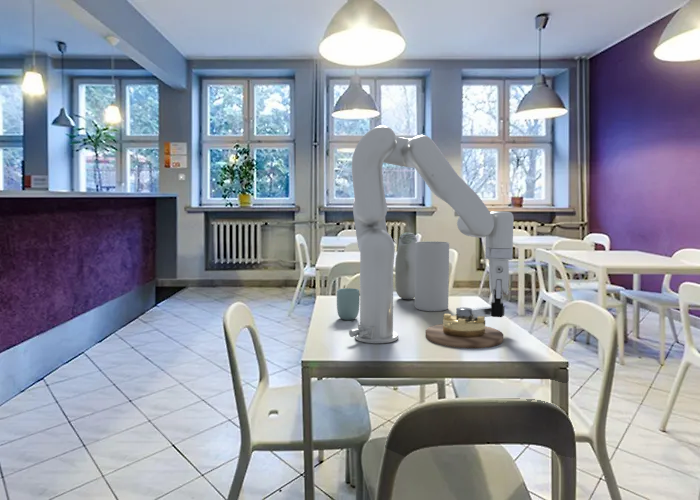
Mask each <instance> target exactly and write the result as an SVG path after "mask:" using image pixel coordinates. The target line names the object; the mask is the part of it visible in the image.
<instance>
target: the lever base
mask: <svg viewBox="0 0 700 500" xmlns="http://www.w3.org/2000/svg"><path fill="white" fill-rule="evenodd" d="M425 338H426V340H428V341H430V342H432V343H434V344H437V345H440V344H441V346H445V345H446V346H445V347H450V346H451V348H459V349H461V348H462V349H485V347H487V348H493V347H497V346H499V345H502V343H504V333H503V332H502V331H500V330H499V329H496V328H494V327H490V326H486V325H485V334H484V335H481V336H475V337H462V336H454V335H450V334H447V333H445V332H443V323H440V324H434V325H431V326H429V327H427V328H426V329H425Z"/></svg>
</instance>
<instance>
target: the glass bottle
mask: <svg viewBox="0 0 700 500" xmlns="http://www.w3.org/2000/svg"><path fill="white" fill-rule="evenodd" d="M415 242H418V239H417V236H416V234H414V233H413V232H409V231H408V232H402V233H401V234H400V236H399V238H398V245H397V251H396V256H395V260H394V265H395V267H394V272H395V274H394V276H395V279H394V280H395V292H396V294H397V296H398V297H399V298H401V299H402V298H403V300H413V299H415Z"/></svg>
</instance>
